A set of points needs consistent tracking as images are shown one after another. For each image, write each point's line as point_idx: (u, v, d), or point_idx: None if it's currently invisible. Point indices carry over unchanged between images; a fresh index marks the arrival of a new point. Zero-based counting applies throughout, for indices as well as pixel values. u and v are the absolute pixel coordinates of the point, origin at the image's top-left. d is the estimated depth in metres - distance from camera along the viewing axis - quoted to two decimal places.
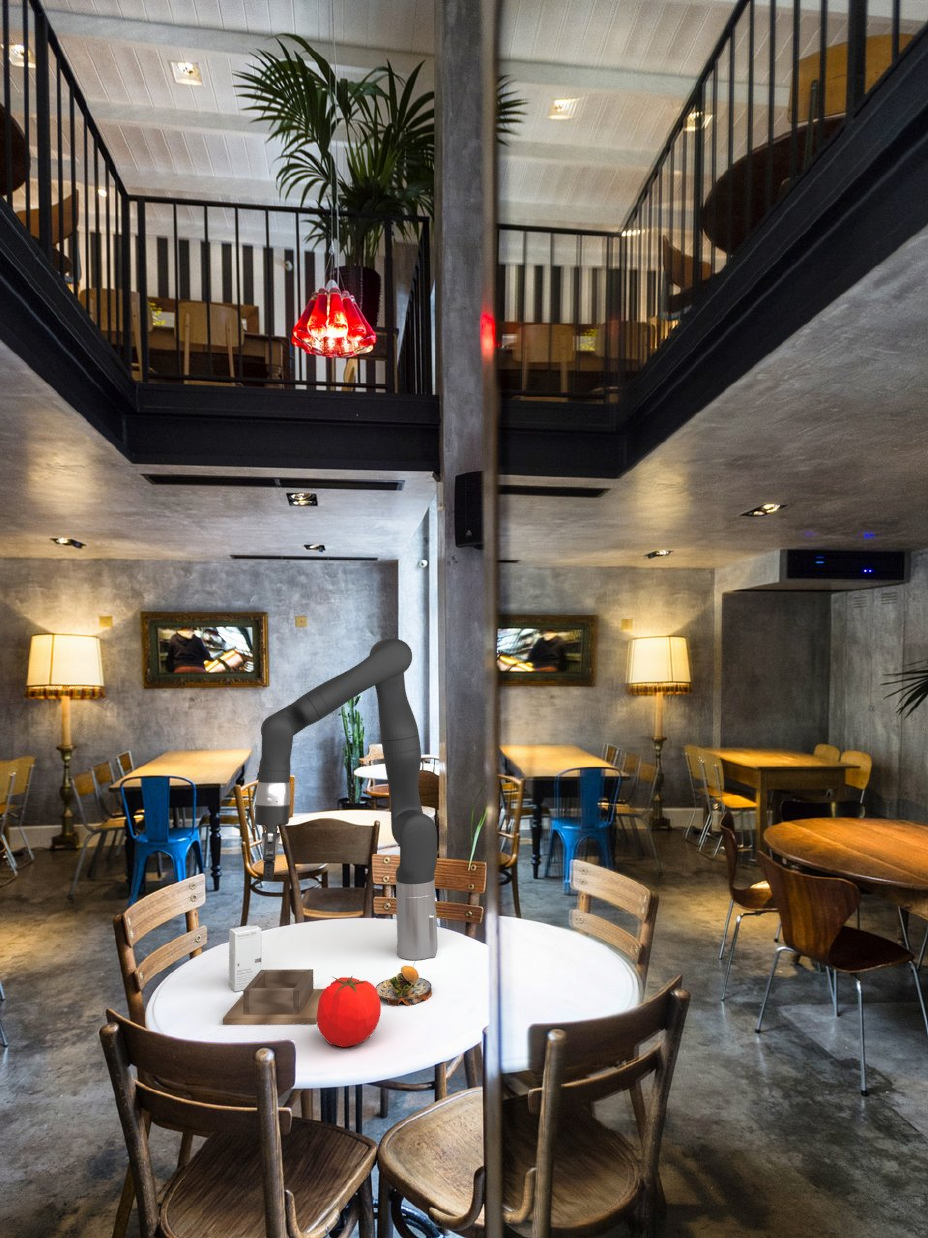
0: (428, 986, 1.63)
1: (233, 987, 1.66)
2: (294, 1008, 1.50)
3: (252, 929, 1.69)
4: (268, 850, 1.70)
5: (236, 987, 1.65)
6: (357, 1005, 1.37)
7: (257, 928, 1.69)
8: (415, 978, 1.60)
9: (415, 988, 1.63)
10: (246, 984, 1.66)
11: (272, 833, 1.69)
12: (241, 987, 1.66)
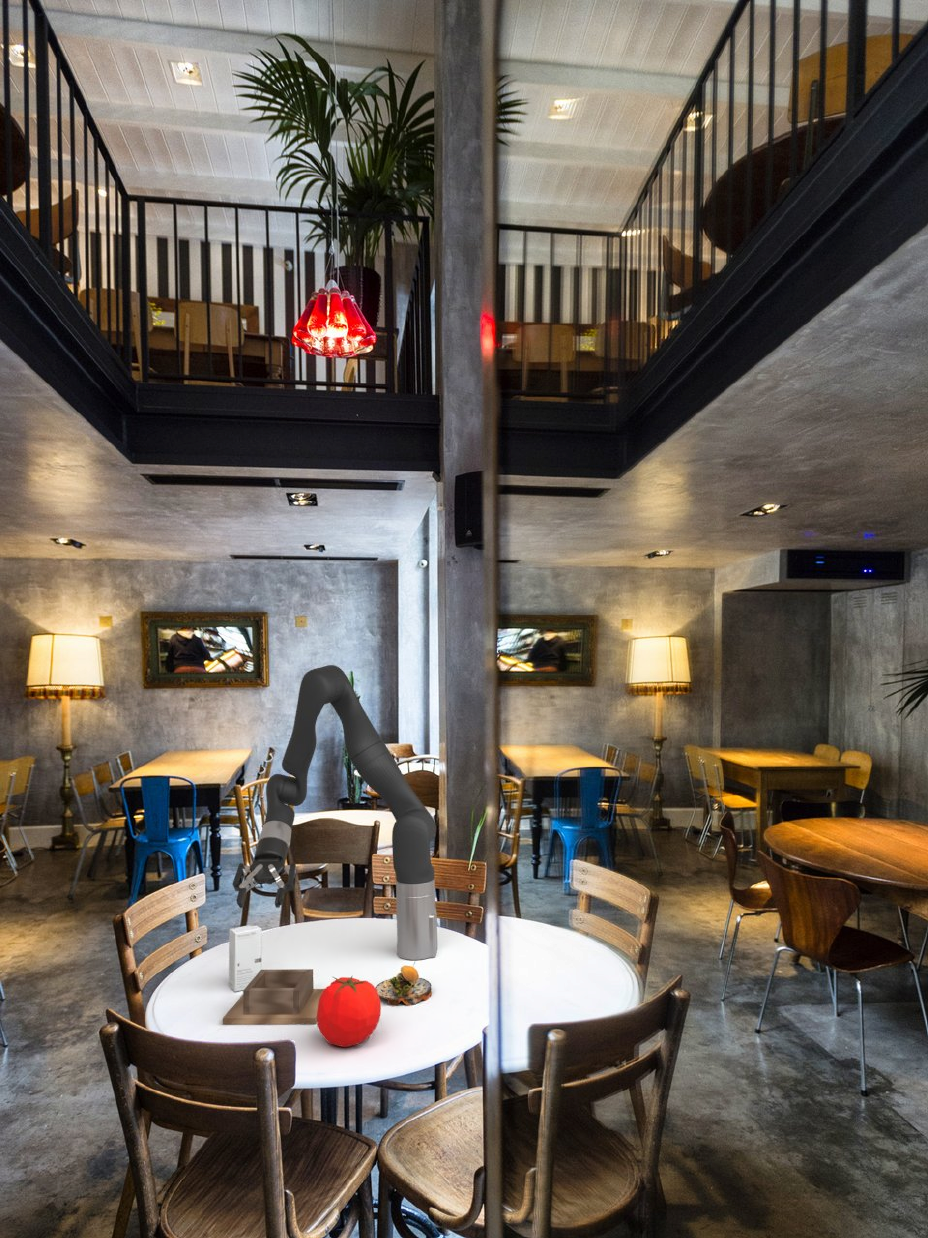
0: (428, 986, 1.63)
1: (233, 987, 1.66)
2: (294, 1008, 1.50)
3: (252, 929, 1.69)
4: None
5: (236, 987, 1.65)
6: (357, 1005, 1.37)
7: (257, 928, 1.69)
8: (415, 978, 1.60)
9: (415, 988, 1.63)
10: (246, 984, 1.66)
11: None
12: (241, 987, 1.66)
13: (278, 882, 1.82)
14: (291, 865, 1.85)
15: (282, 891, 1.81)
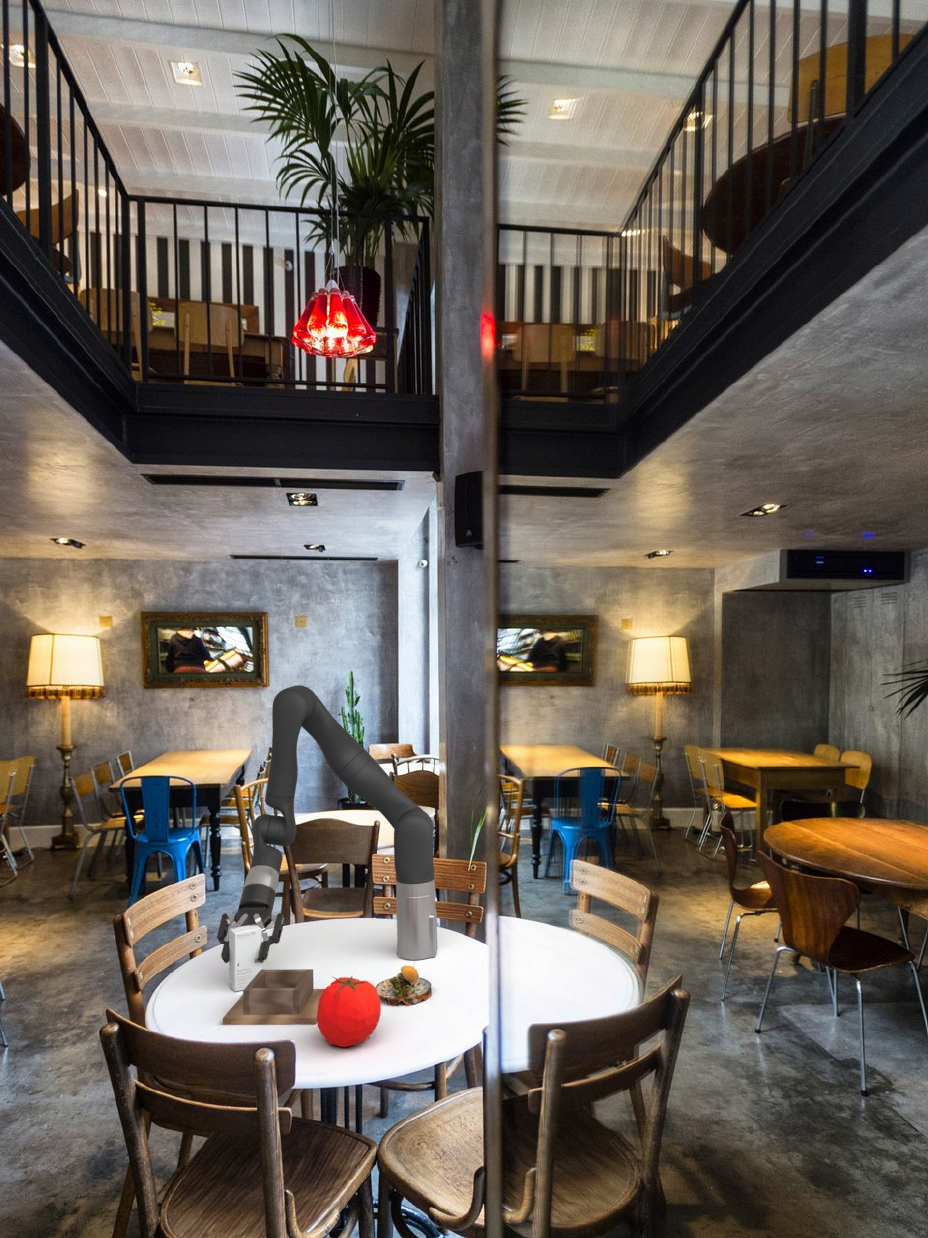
0: (428, 986, 1.63)
1: (233, 987, 1.66)
2: (294, 1008, 1.50)
3: (252, 929, 1.69)
4: None
5: (236, 987, 1.65)
6: (357, 1005, 1.37)
7: (257, 928, 1.69)
8: (415, 978, 1.60)
9: (415, 988, 1.63)
10: (246, 983, 1.66)
11: None
12: (241, 987, 1.66)
13: (262, 934, 1.70)
14: (278, 915, 1.74)
15: (266, 945, 1.69)
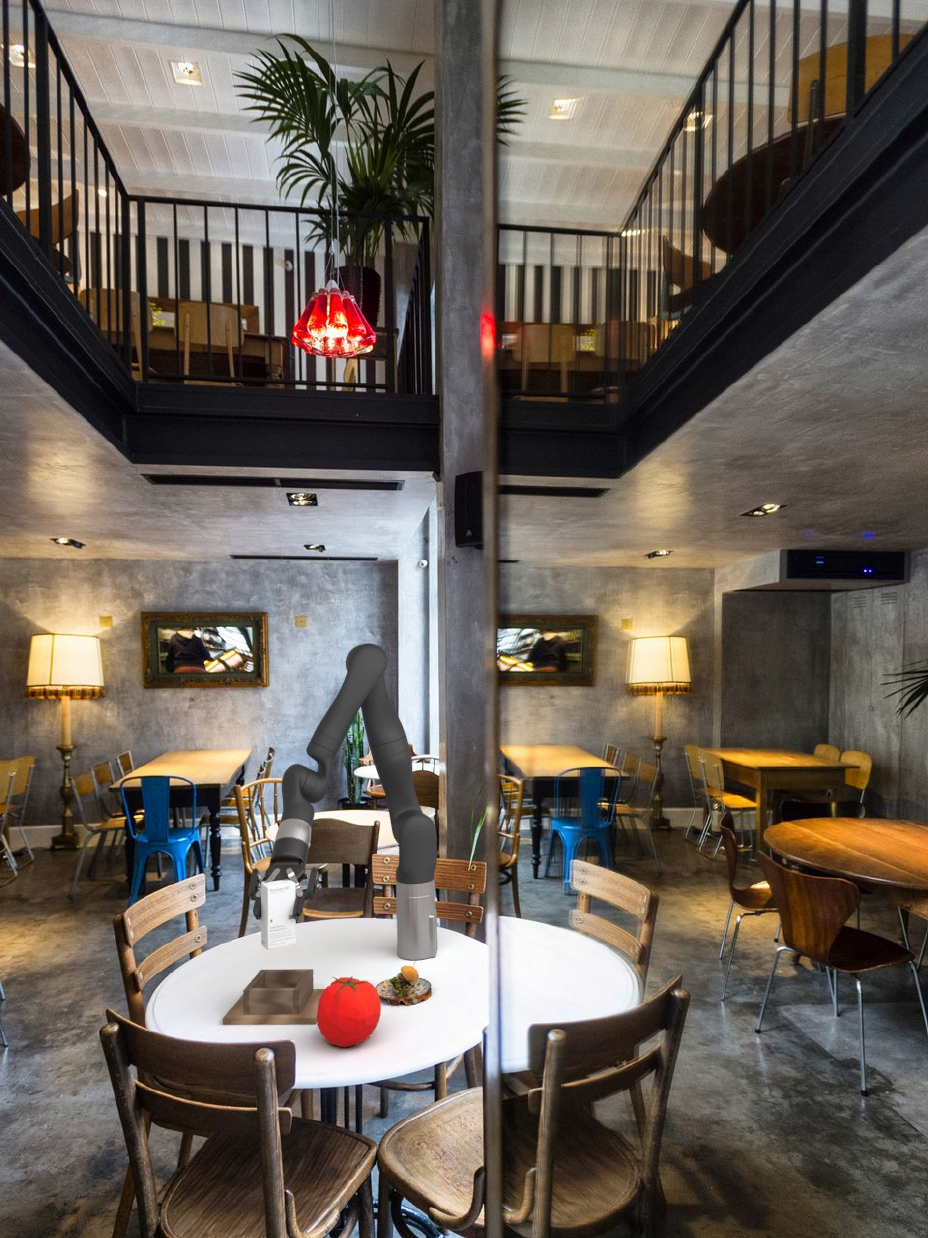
0: (428, 986, 1.63)
1: (266, 945, 1.54)
2: (294, 1008, 1.50)
3: (285, 883, 1.58)
4: None
5: (269, 945, 1.54)
6: (357, 1005, 1.37)
7: (291, 882, 1.58)
8: (415, 978, 1.60)
9: (415, 988, 1.63)
10: (280, 941, 1.55)
11: None
12: (274, 945, 1.54)
13: (296, 889, 1.59)
14: (312, 870, 1.62)
15: (301, 900, 1.58)
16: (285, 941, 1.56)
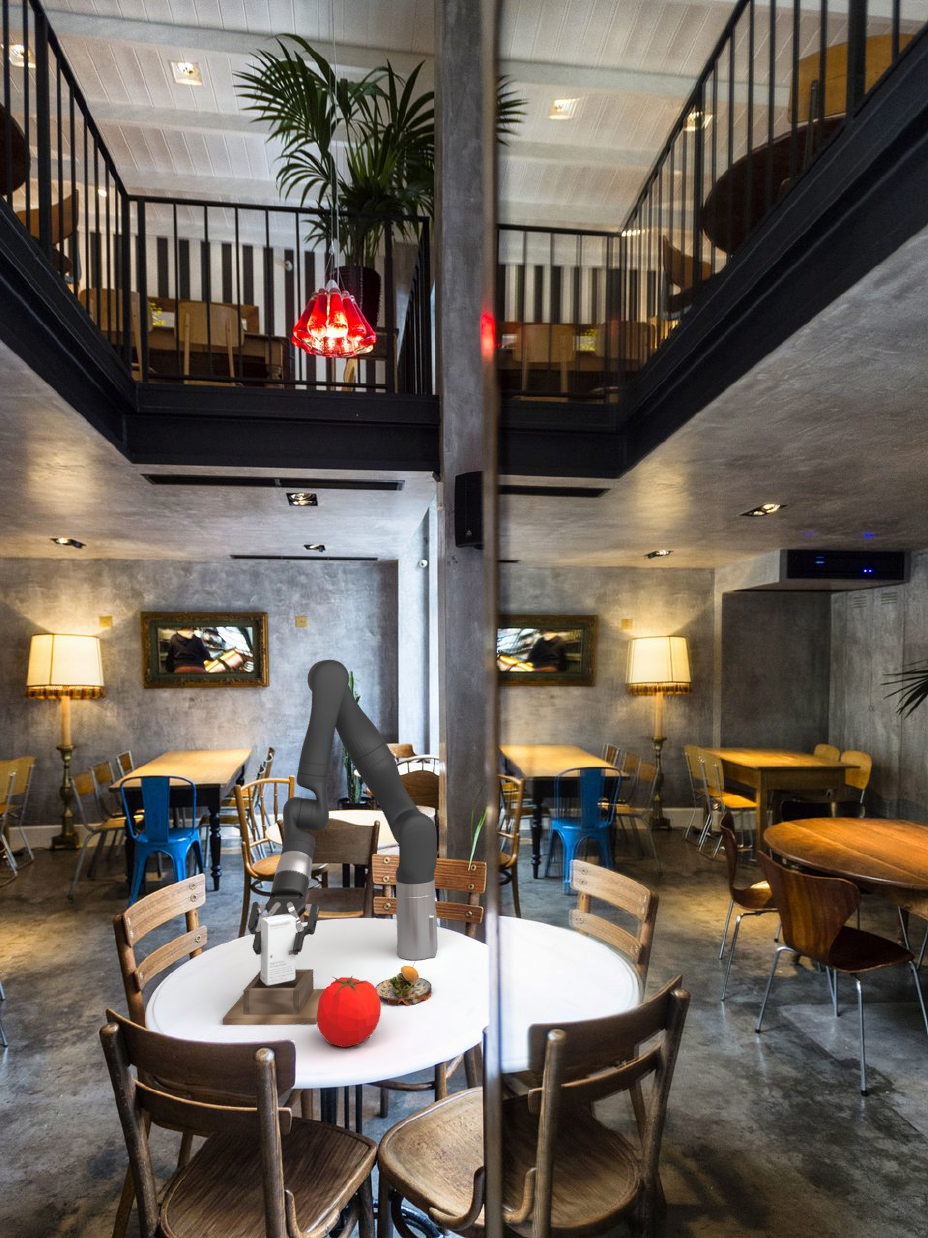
0: (428, 986, 1.63)
1: (265, 980, 1.54)
2: (294, 1008, 1.50)
3: (286, 918, 1.57)
4: None
5: (269, 981, 1.53)
6: (357, 1005, 1.37)
7: (291, 917, 1.57)
8: (415, 978, 1.60)
9: (415, 988, 1.63)
10: (280, 977, 1.54)
11: None
12: (274, 981, 1.54)
13: (297, 924, 1.58)
14: (313, 904, 1.62)
15: (301, 936, 1.57)
16: (285, 977, 1.55)
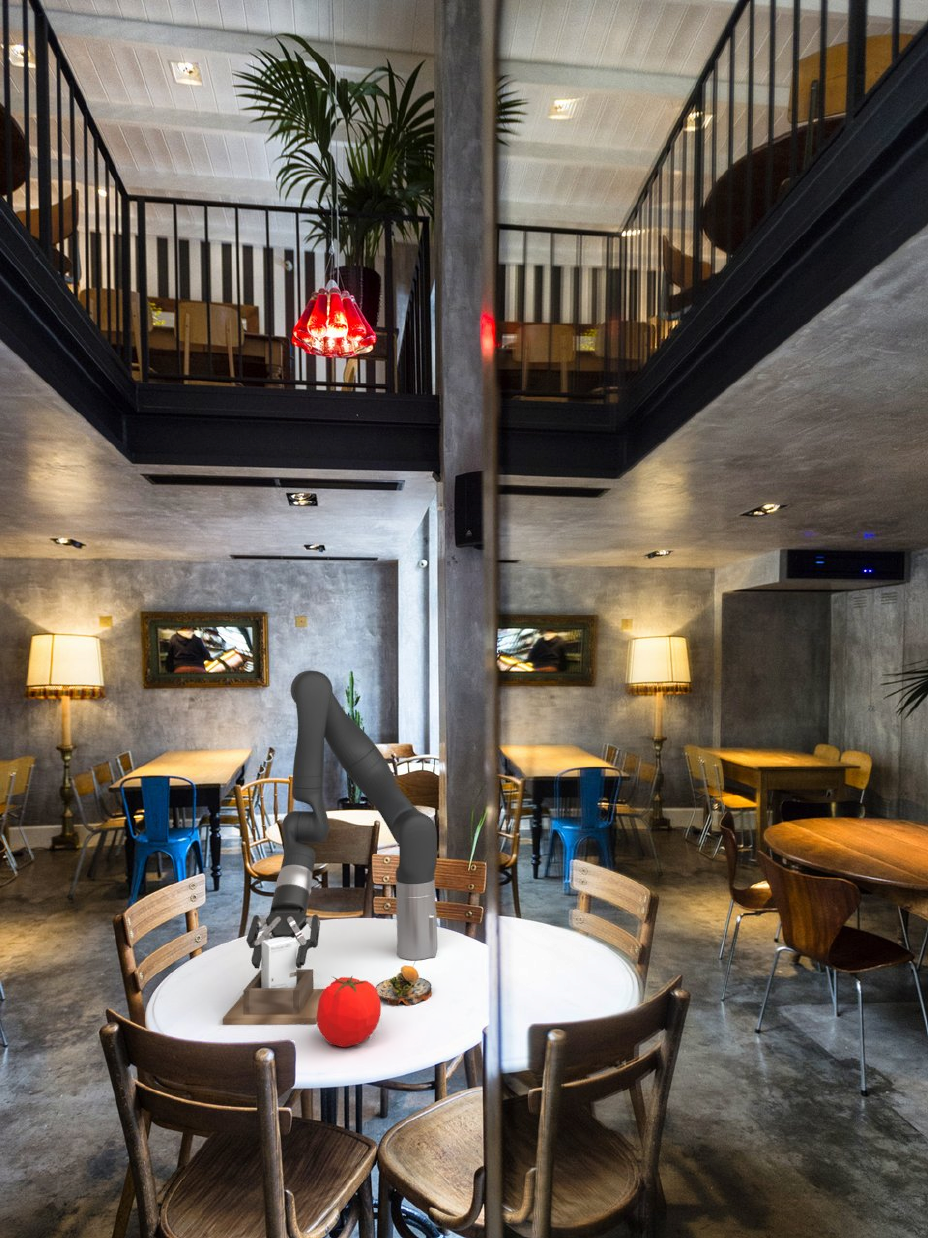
0: (428, 986, 1.63)
1: None
2: (294, 1008, 1.50)
3: (286, 941, 1.57)
4: None
5: None
6: (357, 1005, 1.37)
7: (292, 940, 1.57)
8: (415, 978, 1.60)
9: (415, 988, 1.63)
10: None
11: None
12: None
13: (299, 938, 1.58)
14: (313, 917, 1.61)
15: (304, 949, 1.57)
16: None
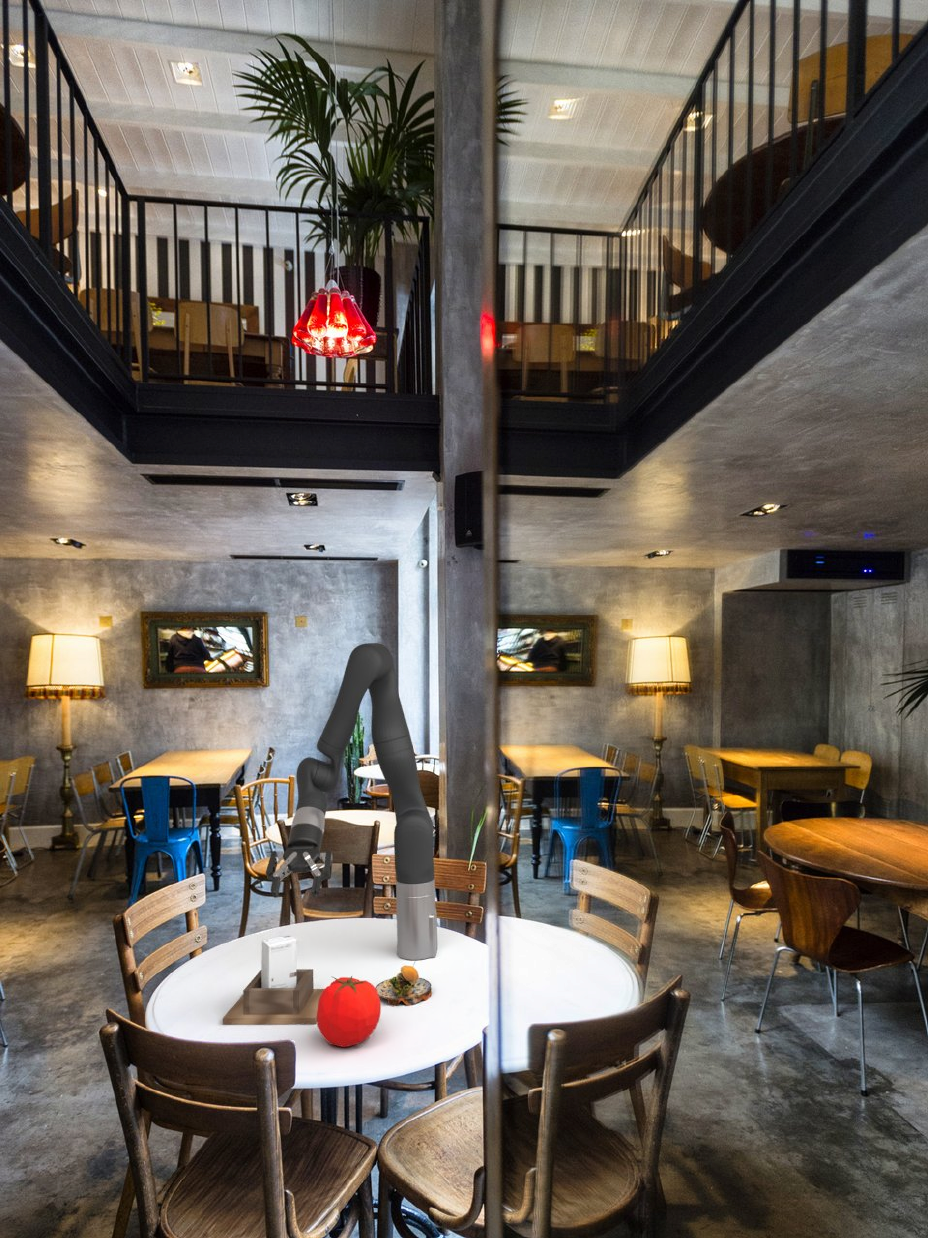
0: (428, 986, 1.63)
1: None
2: (294, 1008, 1.50)
3: (286, 941, 1.57)
4: None
5: None
6: (357, 1005, 1.37)
7: (292, 940, 1.57)
8: (415, 978, 1.60)
9: (415, 988, 1.63)
10: None
11: None
12: None
13: (314, 870, 1.72)
14: (327, 852, 1.75)
15: (318, 880, 1.71)
16: None
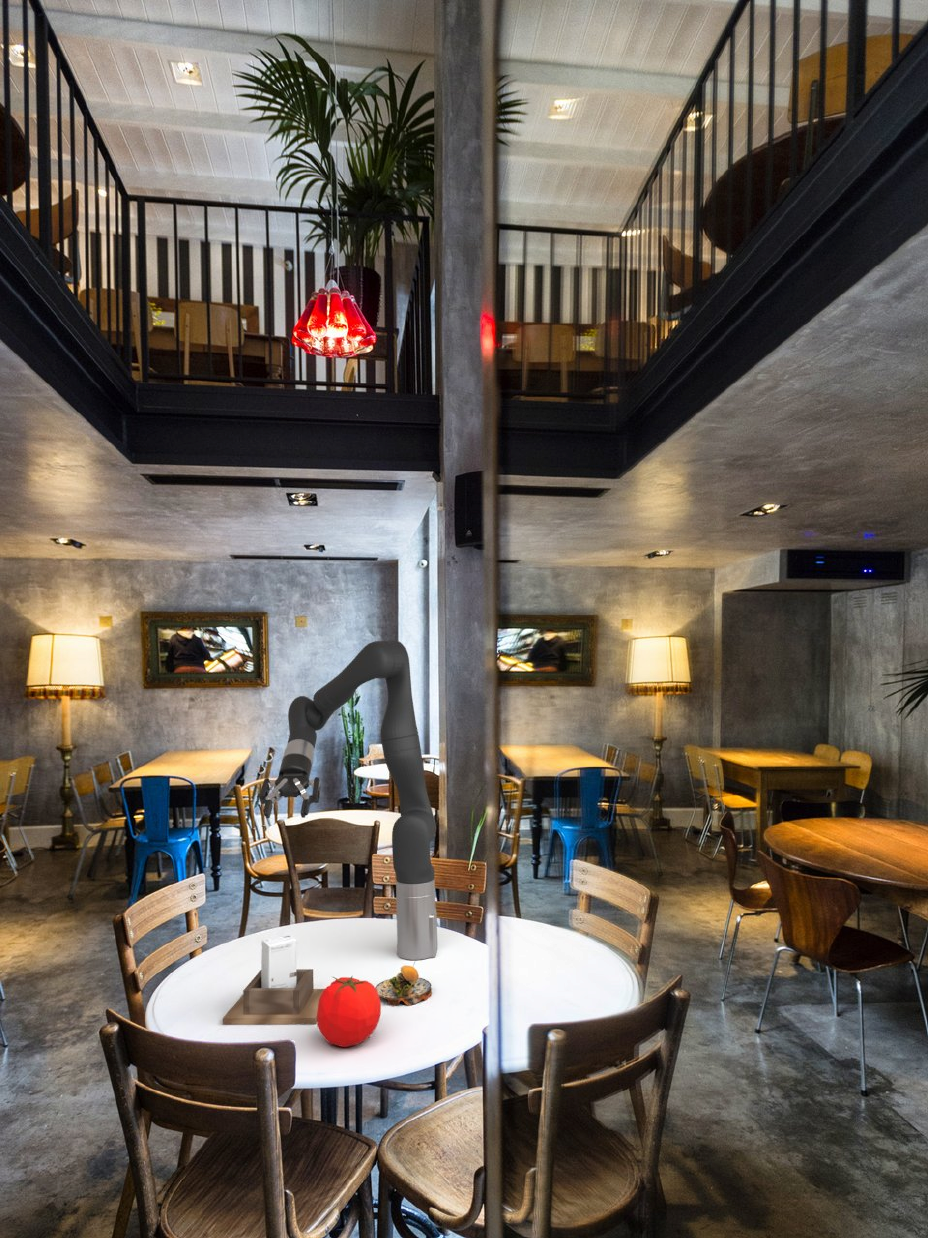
0: (428, 986, 1.63)
1: None
2: (294, 1008, 1.50)
3: (286, 941, 1.57)
4: None
5: None
6: (357, 1005, 1.37)
7: (292, 940, 1.57)
8: (415, 978, 1.60)
9: (415, 988, 1.63)
10: None
11: None
12: None
13: (303, 794, 1.87)
14: (315, 779, 1.91)
15: (307, 802, 1.86)
16: None
